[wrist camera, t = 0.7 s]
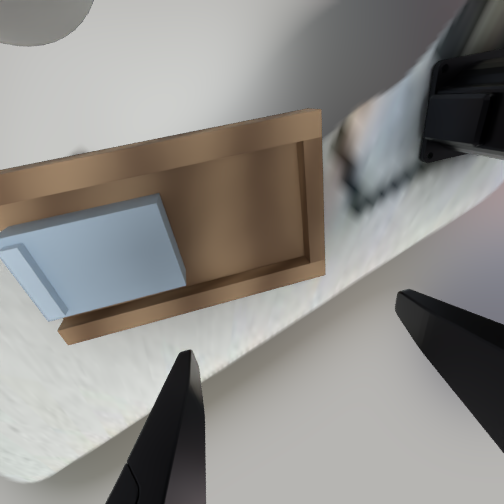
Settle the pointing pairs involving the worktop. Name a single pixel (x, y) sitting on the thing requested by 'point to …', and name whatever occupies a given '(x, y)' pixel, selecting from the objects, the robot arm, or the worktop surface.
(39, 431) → the worktop surface
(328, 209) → the worktop surface
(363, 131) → the worktop surface
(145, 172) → the brown flat wooden tray
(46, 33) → the mug
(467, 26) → the worktop surface
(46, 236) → the blue mattress with pillow
